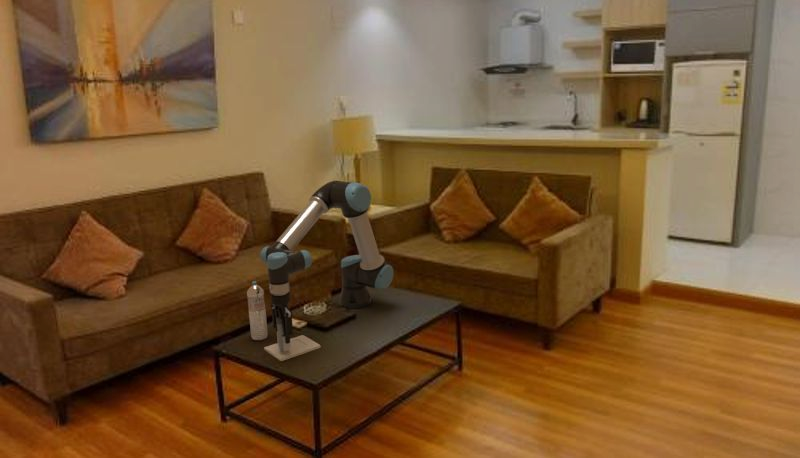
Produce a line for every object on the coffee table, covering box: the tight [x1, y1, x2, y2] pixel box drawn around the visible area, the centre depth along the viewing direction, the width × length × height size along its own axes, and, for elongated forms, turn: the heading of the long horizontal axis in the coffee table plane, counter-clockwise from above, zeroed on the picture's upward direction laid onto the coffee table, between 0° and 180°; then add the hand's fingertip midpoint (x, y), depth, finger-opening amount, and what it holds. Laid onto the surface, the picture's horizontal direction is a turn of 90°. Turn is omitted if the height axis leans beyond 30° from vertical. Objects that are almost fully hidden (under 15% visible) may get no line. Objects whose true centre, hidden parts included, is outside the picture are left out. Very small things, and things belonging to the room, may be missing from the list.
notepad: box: [263, 334, 321, 362], centre depth 253 cm, size 18×14×1 cm
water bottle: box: [246, 280, 269, 342], centre depth 262 cm, size 7×7×25 cm
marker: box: [276, 316, 289, 352], centre depth 246 cm, size 4×4×14 cm
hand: (284, 348), depth 247 cm, fingers closed on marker, 4 cm apart
